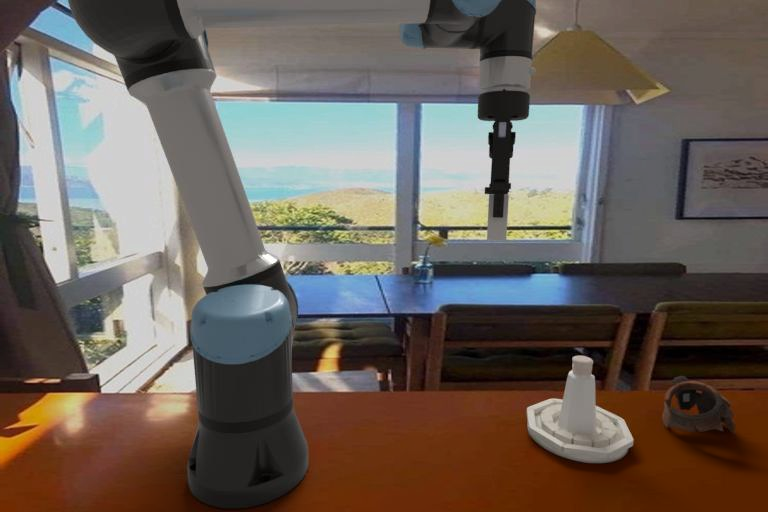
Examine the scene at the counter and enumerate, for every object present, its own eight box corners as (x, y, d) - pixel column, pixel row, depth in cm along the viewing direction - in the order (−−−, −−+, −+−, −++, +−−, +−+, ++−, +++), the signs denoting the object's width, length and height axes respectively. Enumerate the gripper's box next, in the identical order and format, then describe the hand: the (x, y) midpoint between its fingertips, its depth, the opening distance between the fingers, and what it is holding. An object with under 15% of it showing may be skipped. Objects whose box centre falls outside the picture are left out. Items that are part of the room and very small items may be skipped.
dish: (530, 454, 65) (531, 441, 65) (524, 405, 78) (525, 394, 78) (641, 470, 62) (642, 456, 61) (615, 415, 75) (617, 404, 75)
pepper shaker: (601, 440, 67) (608, 367, 65) (561, 436, 68) (567, 365, 66) (590, 420, 72) (597, 352, 70) (553, 417, 73) (559, 350, 71)
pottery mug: (755, 448, 68) (746, 409, 65) (687, 468, 70) (675, 431, 67) (705, 390, 79) (695, 354, 75) (648, 409, 81) (636, 375, 77)
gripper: (536, 76, 57) (525, 247, 61) (525, 102, 81) (518, 224, 85) (474, 78, 59) (467, 245, 63) (481, 103, 83) (476, 223, 87)
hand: (496, 233), depth 74 cm, fingers open, 13 cm apart
